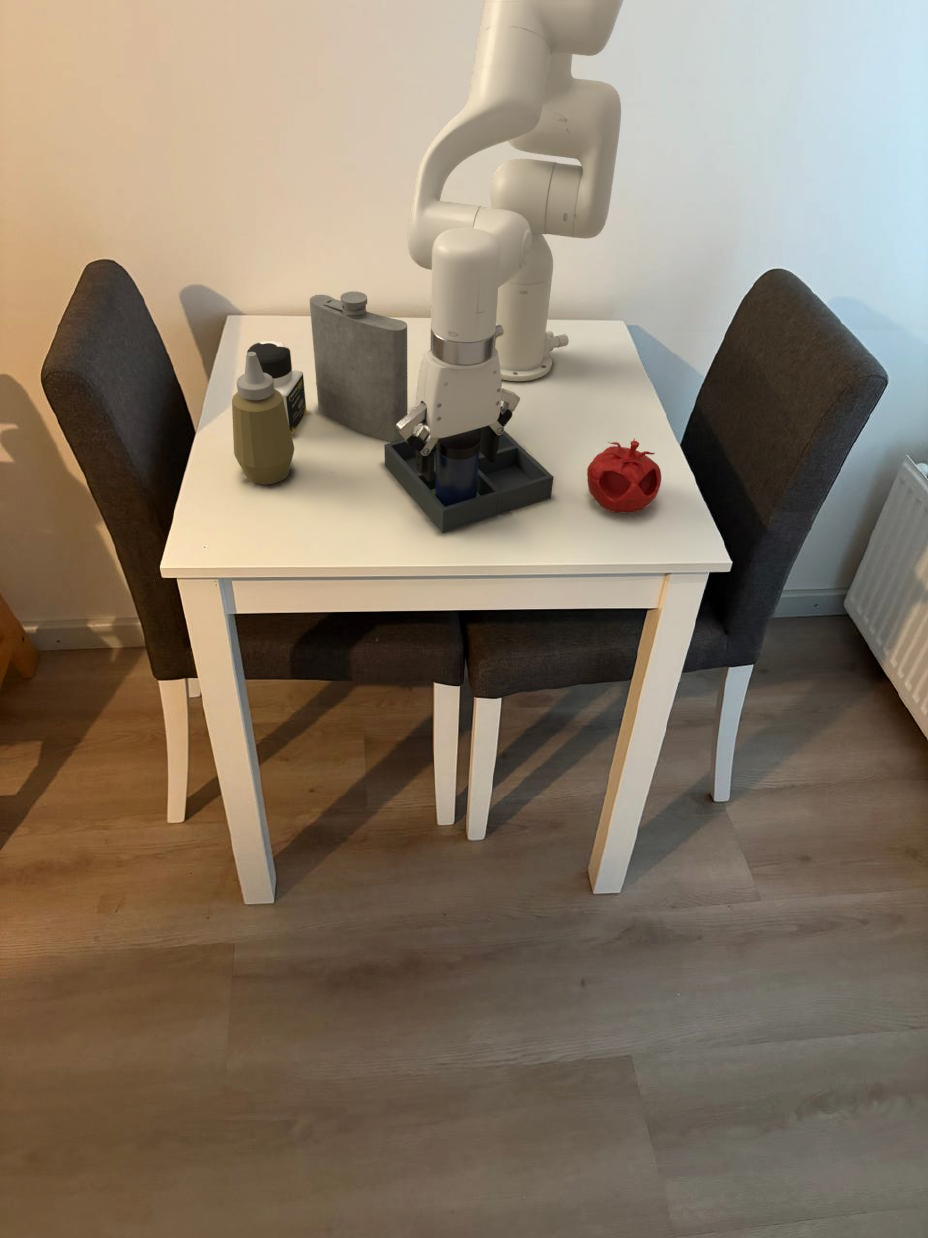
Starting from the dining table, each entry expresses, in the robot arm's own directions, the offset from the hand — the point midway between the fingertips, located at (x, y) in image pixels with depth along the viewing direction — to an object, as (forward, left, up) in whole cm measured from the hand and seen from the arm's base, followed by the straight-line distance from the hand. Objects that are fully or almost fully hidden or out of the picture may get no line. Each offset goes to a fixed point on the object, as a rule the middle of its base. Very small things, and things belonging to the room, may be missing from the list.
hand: (457, 465), depth 116 cm
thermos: (0, 0, -6) cm, 6 cm away
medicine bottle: (+14, -30, -7) cm, 34 cm away
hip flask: (+3, -24, -7) cm, 25 cm away
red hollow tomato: (-21, +9, -7) cm, 24 cm away
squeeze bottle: (+20, -18, -7) cm, 28 cm away
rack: (-4, -4, -6) cm, 9 cm away
